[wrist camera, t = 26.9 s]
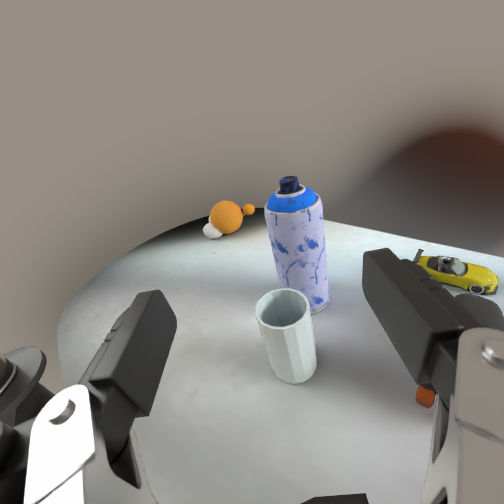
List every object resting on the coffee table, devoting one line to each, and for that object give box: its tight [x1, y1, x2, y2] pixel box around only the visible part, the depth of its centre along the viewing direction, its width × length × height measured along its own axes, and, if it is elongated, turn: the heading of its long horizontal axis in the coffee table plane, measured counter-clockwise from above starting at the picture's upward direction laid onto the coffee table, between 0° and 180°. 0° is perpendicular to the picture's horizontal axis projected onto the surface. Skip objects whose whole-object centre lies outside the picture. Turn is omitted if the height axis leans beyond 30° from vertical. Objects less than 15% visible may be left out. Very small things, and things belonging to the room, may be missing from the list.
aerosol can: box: [264, 176, 330, 314], centre depth 34 cm, size 8×8×20 cm
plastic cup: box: [255, 288, 317, 384], centre depth 28 cm, size 6×6×10 cm
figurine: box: [416, 294, 504, 408], centre depth 24 cm, size 7×10×15 cm
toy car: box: [413, 249, 498, 295], centre depth 35 cm, size 5×10×3 cm, turn 48°
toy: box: [203, 201, 259, 238], centre depth 65 cm, size 9×10×15 cm
